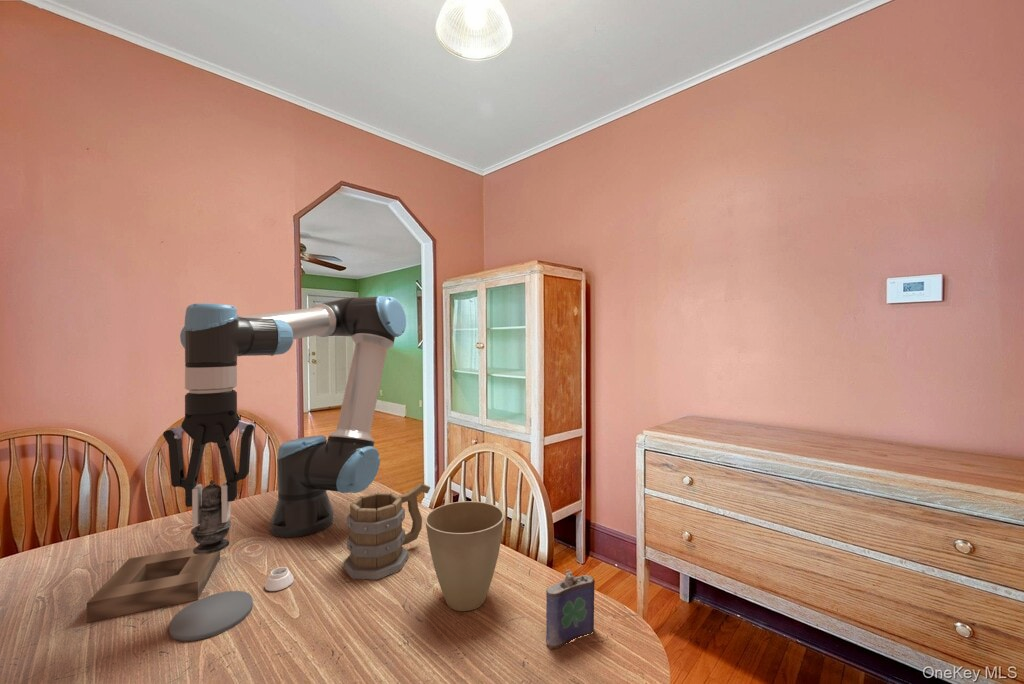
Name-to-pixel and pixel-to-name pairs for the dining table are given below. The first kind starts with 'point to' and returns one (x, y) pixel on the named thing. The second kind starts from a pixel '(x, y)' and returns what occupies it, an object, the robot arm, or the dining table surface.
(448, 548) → the plant pot
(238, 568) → the dining table surface
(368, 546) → the tankard
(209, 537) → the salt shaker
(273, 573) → the white tapered ring
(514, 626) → the dining table surface
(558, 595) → the flask
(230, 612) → the slate mat
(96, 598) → the pocket holder
